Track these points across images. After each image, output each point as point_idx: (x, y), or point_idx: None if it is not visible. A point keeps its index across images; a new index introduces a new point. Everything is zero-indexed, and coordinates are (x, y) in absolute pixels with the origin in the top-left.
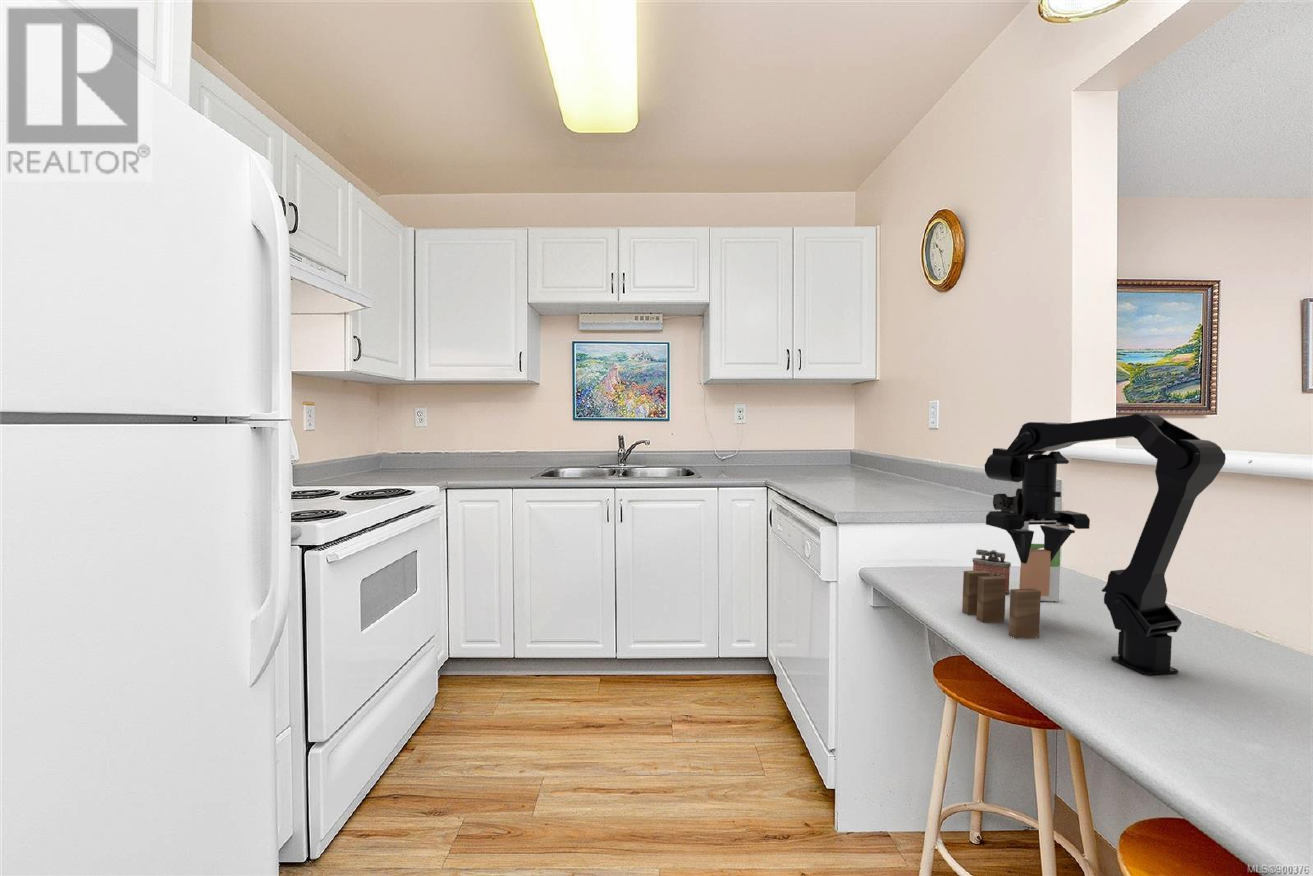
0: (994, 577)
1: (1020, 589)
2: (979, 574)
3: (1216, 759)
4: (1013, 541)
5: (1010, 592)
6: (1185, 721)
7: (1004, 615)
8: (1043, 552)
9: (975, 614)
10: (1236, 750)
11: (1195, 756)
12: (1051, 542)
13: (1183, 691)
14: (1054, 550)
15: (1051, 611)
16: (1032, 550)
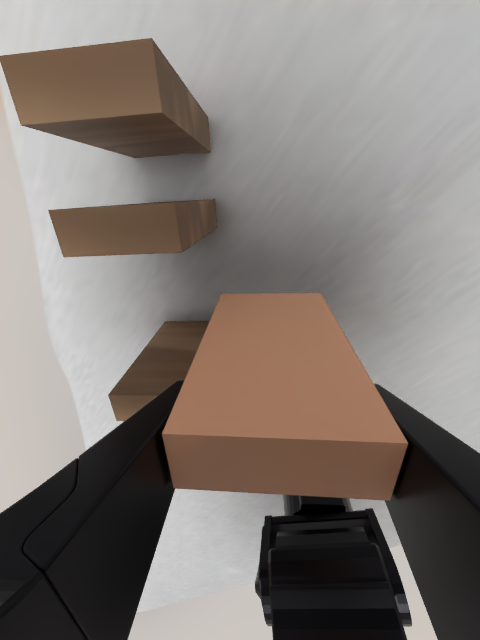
0: (128, 232)
1: (144, 400)
2: (91, 122)
3: (177, 572)
4: (24, 499)
5: (114, 387)
6: (210, 543)
7: (213, 229)
8: (313, 488)
9: (161, 155)
10: (208, 570)
11: (163, 568)
12: (458, 599)
13: (282, 510)
14: (399, 534)
15: (476, 127)
16: (243, 465)
